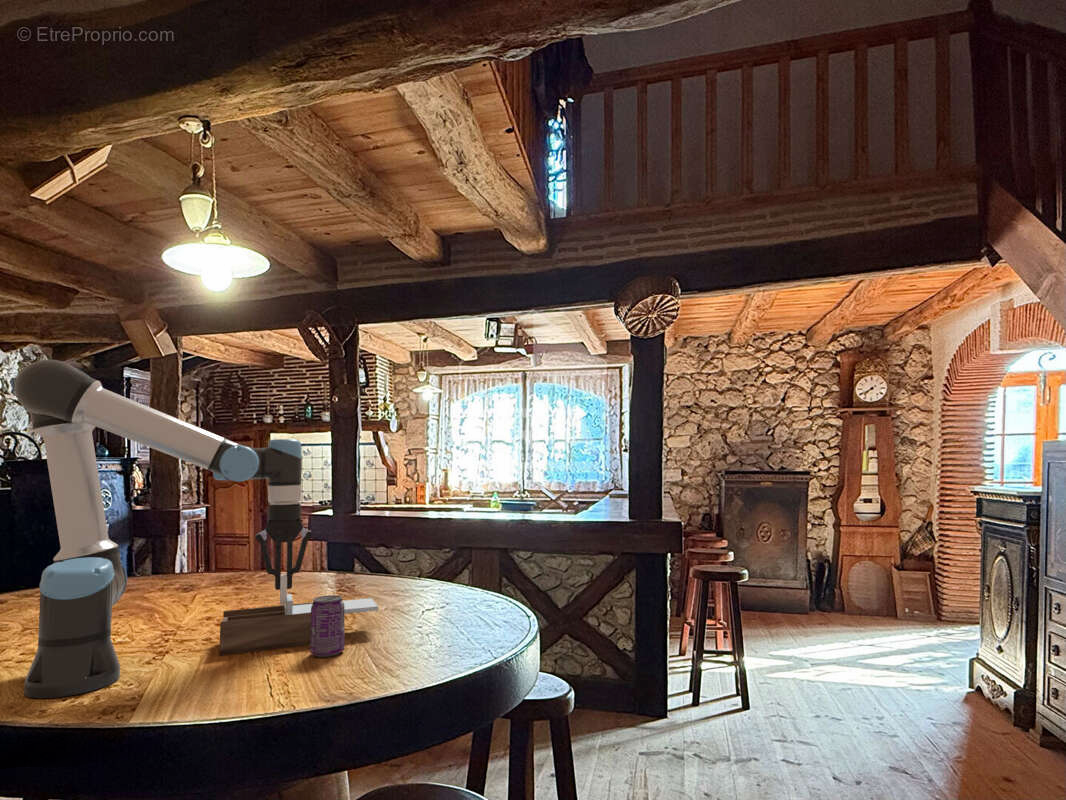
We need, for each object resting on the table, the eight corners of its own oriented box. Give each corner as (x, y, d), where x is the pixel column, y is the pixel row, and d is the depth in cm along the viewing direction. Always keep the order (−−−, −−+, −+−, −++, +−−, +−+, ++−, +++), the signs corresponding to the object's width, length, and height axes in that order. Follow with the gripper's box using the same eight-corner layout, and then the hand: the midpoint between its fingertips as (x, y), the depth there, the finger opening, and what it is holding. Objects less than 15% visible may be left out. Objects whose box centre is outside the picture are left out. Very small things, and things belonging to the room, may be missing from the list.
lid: (378, 610, 157) (378, 593, 157) (285, 619, 149) (285, 602, 150) (371, 602, 167) (371, 586, 167) (284, 610, 159) (284, 593, 159)
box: (324, 642, 151) (324, 611, 152) (219, 655, 143) (220, 622, 144) (320, 630, 162) (320, 601, 163) (223, 642, 154) (223, 611, 155)
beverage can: (332, 647, 147) (332, 593, 148) (350, 652, 143) (351, 597, 144) (304, 655, 142) (304, 599, 143) (322, 660, 137) (322, 602, 139)
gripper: (312, 501, 162) (311, 597, 160) (255, 503, 157) (253, 603, 155) (314, 502, 155) (313, 603, 153) (255, 505, 151) (253, 609, 148)
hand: (283, 603), depth 154 cm, fingers closed
